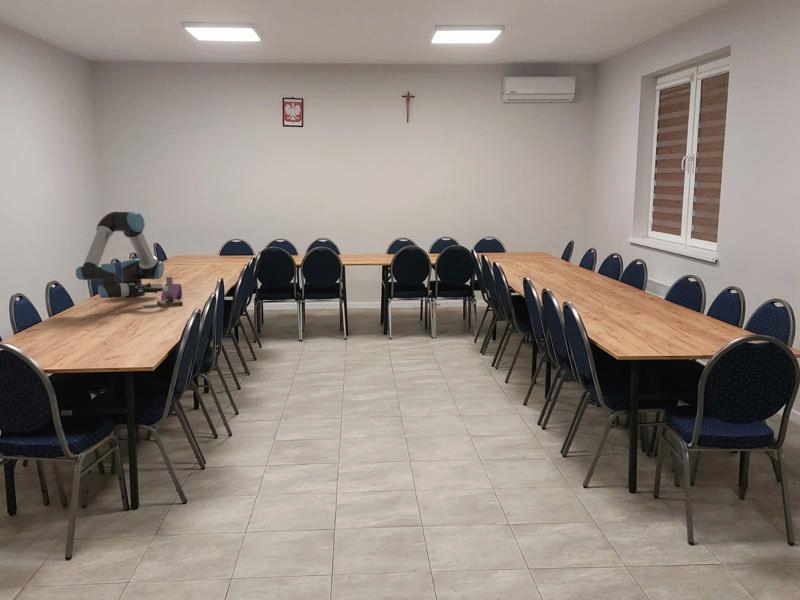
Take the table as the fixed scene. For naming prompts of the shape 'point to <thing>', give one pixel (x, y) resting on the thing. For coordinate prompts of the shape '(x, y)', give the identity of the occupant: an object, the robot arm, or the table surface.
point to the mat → (150, 306)
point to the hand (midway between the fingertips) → (165, 287)
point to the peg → (170, 289)
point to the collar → (169, 303)
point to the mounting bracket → (176, 292)
